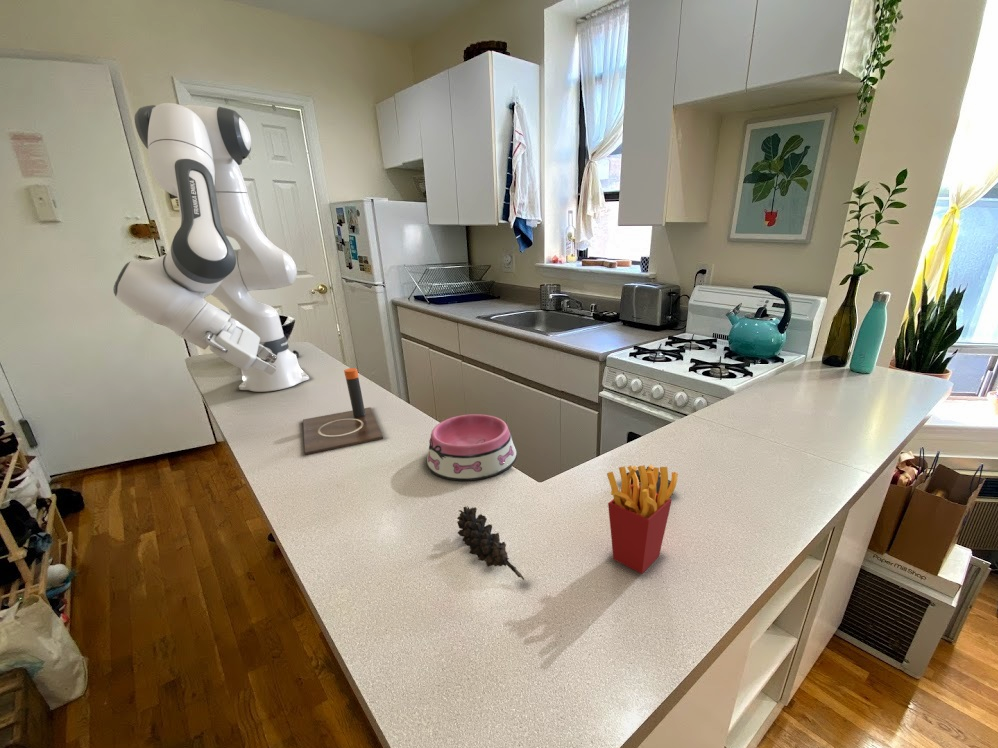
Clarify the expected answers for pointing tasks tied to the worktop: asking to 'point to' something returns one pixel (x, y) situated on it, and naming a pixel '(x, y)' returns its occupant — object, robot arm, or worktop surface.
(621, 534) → the french fries
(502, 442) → the dog bowl
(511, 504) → the worktop surface
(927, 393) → the worktop surface
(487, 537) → the pine cone
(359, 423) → the drawing board
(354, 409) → the marker
